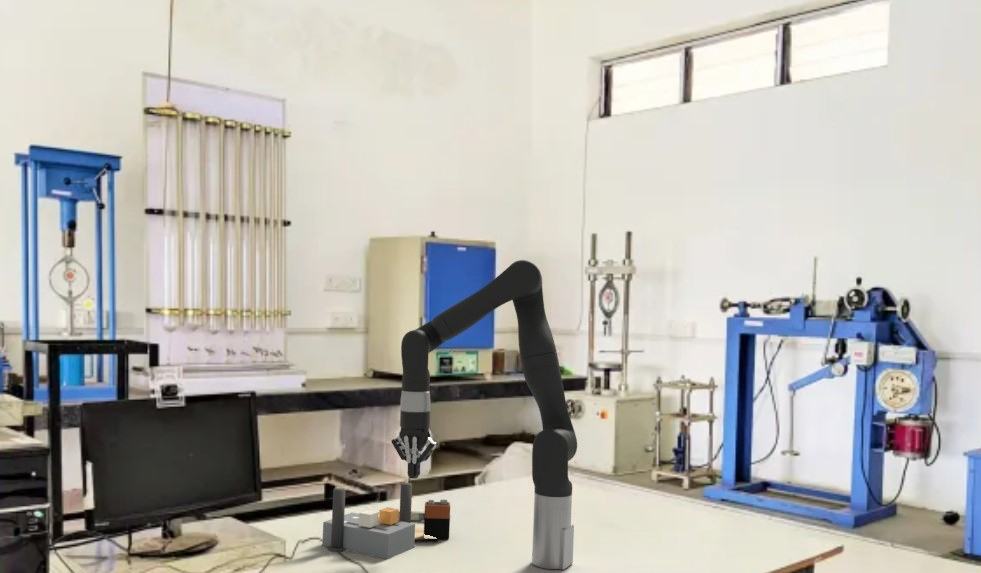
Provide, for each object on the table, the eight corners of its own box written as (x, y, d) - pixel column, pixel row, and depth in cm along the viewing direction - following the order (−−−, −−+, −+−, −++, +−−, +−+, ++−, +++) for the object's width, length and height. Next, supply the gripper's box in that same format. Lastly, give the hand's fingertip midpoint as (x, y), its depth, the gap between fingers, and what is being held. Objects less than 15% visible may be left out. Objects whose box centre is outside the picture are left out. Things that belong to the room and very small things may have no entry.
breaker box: (414, 547, 214) (415, 523, 214) (387, 559, 204) (388, 533, 204) (351, 535, 223) (352, 512, 224) (322, 545, 213) (323, 521, 213)
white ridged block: (378, 524, 211) (378, 512, 211) (370, 527, 208) (370, 514, 208) (366, 522, 212) (367, 509, 212) (358, 525, 209) (359, 512, 209)
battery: (449, 540, 222) (450, 502, 222) (423, 539, 222) (424, 501, 222) (448, 535, 226) (450, 498, 227) (423, 535, 226) (425, 498, 226)
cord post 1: (349, 548, 211) (351, 489, 211) (338, 553, 207) (341, 492, 207) (335, 545, 213) (337, 486, 213) (324, 550, 209) (326, 489, 209)
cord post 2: (415, 540, 220) (418, 483, 220) (406, 544, 216) (409, 486, 217) (401, 538, 222) (404, 481, 223) (392, 542, 218) (394, 484, 219)
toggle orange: (398, 521, 214) (398, 509, 214) (390, 524, 211) (390, 512, 211) (386, 519, 216) (387, 507, 216) (378, 522, 213) (379, 510, 213)
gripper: (445, 409, 211) (443, 478, 211) (401, 405, 217) (399, 472, 217) (430, 412, 205) (428, 483, 204) (385, 408, 211) (383, 477, 210)
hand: (413, 477), depth 210 cm, fingers closed
